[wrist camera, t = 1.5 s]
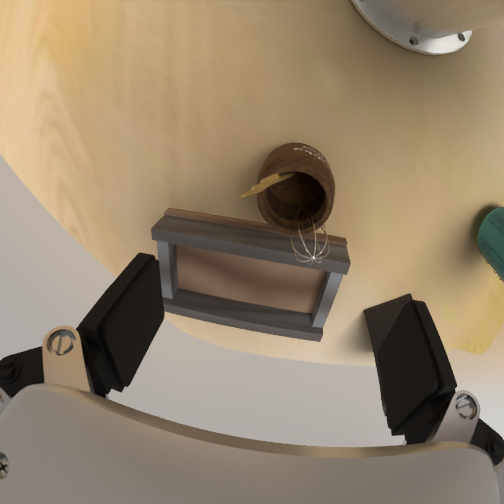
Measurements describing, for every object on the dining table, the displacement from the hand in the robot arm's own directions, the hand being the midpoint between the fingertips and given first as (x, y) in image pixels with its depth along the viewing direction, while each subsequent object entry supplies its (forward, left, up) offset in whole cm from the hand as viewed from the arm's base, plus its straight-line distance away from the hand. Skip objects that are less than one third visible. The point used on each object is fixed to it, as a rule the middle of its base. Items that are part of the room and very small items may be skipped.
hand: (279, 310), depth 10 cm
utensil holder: (0, 0, -17) cm, 17 cm away
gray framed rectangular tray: (+11, -3, -17) cm, 20 cm away
